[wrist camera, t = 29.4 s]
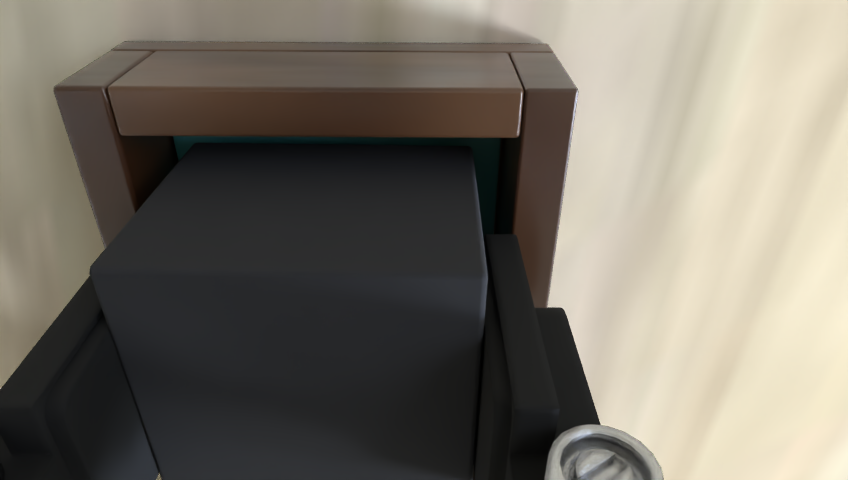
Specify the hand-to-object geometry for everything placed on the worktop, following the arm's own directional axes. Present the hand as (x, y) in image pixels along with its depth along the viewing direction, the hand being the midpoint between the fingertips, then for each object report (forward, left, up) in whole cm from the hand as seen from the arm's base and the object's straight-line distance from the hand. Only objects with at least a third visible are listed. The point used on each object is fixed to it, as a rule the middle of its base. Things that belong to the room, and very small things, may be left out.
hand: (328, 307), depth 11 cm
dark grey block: (0, 0, -2) cm, 2 cm away
